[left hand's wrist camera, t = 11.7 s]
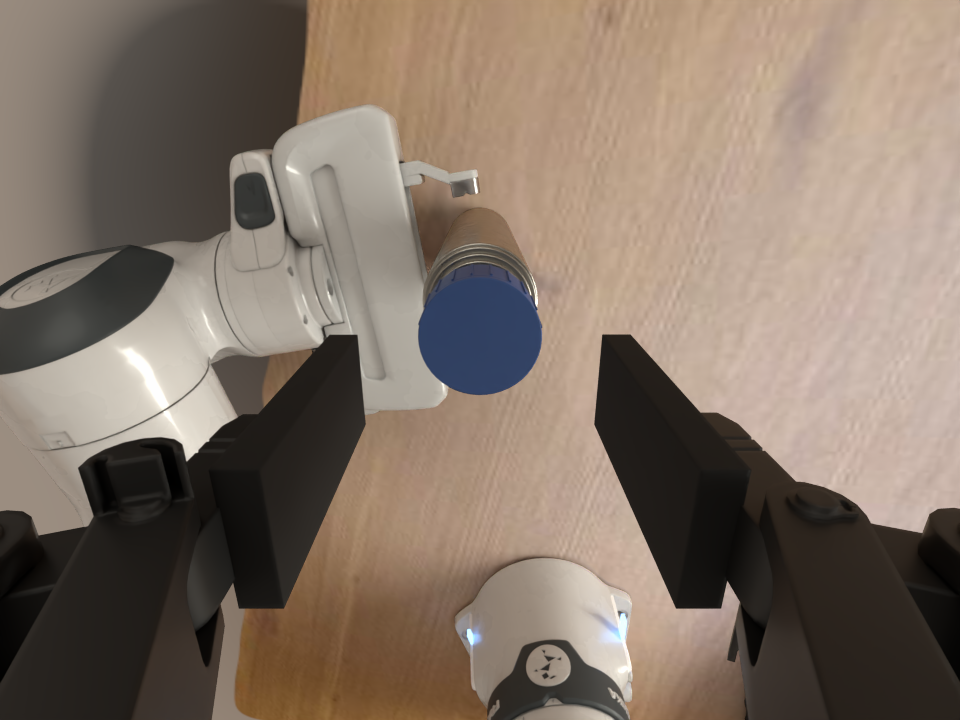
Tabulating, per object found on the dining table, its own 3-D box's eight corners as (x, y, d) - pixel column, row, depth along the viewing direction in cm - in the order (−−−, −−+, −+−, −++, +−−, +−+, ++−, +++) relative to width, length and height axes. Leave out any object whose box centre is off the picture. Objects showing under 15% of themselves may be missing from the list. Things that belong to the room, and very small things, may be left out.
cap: (532, 372, 21) (538, 397, 18) (424, 370, 21) (418, 395, 18) (539, 264, 19) (547, 277, 17) (422, 261, 19) (415, 274, 17)
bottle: (510, 273, 42) (546, 402, 19) (448, 271, 42) (409, 398, 19) (513, 208, 40) (557, 265, 17) (448, 206, 40) (406, 261, 17)
